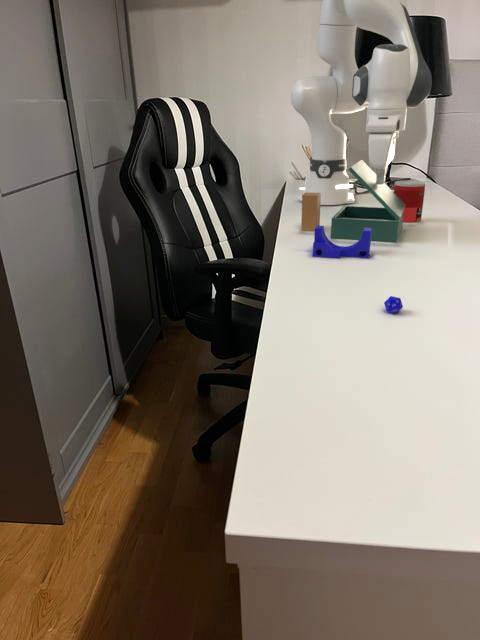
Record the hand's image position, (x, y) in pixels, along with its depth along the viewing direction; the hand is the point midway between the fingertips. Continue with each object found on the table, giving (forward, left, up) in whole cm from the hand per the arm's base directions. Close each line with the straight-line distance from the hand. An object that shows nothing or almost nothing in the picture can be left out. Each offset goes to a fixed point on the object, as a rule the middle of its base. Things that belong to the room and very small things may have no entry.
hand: (380, 183), depth 122 cm
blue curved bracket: (+20, -5, -13) cm, 24 cm away
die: (+50, +9, -13) cm, 53 cm away
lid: (0, -1, -1) cm, 2 cm away
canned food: (-18, +6, -13) cm, 23 cm away
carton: (0, -17, -13) cm, 21 cm away
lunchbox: (0, -2, -13) cm, 13 cm away
